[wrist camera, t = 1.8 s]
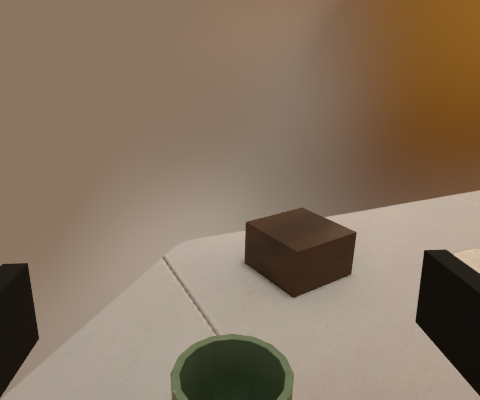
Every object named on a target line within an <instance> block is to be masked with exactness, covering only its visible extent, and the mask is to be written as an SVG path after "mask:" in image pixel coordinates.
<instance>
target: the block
mask: <svg viewBox="0 0 480 400" xmlns="http://www.w3.org/2000/svg"><path fill="white" fill-rule="evenodd" d="M355 240H356V232H355V231H352V230H350V229H348V228H346V227H344V226H341V225H339V224H337V223H335V222H333V221H331V220H328V219H326V218H324V217H322V216H319V215H317V214H315V213H313V212H311V211H308V210H306V209H304V208H299V209H295V210H291V211H287V212H283V213H280V214H276V215H272V216H268V217H264V218H260V219H256V220H252V221H249V222H246V237H245V263H246V264H248V265H249V266H250V267H252V268H253V269H255V270H256V271H257V272H259V273H260V274H262V275H263V276H264V277H266V278H267V279H269V280H270V281H272V282H273V283H274V284H276V285H277V286H279V287H280V288H281V289H283V290H284V291H286V292H287V293H288V294H290V295H291V296H293V297H296V296H298V295H301V294H303V293H306V292H308V291H310V290H313V289H315V288H318V287H320V286H323V285H325V284H328V283H330V282H333V281H335V280H337V279H340V278H342V277H345V276H347V275H350V274H351V271H352V263H353V256H354V248H355Z"/></svg>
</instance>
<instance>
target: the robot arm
mask: <svg viewBox="0 0 480 400" xmlns="http://www.w3.org/2000/svg"><path fill="white" fill-rule="evenodd" d="M416 323H417V324H418V325H419V326H420V327H421V329H422V330H423V331H424V332H425V333H426V334H427V336H428V337H429V338H430V339H431V340H432V341H433V342H434V344H435V345H436V346H437V347H438V348H439V349H440V351H441V352H442V353H443V354H444V355H445V356H446V357H447V359H448V360H449V361H450V362H451V363H452V364H453V366H454V367H455V368H456V369H457V370H458V371H459V372H460V374H461V375H462V376H463V377H464V378H465V379H466V381H467V382H468V383H469V384H470V385H471V386H472V387H473V389H474V390H475V391H476V392H477V393H478V394H479V396H480V273H478V272H477V271H476V270H474V269H473V268H471V267H470V266H468V265H467V264H466V263H464V262H463V261H461V260H460V259H459V258H457V257H456V256H454V255H453V254H451V253H450V252H449V251H447V250H424V258H423V266H422V274H421V282H420V290H419V298H418V306H417V314H416ZM38 339H39V336H38V329H37V322H36V316H35V309H34V302H33V297H32V289H31V283H30V276H29V269H28V264H27V263H24V264H23V263H21V264H2V265H1V266H0V397H1V396H2V394H3V392H4V391H5V390H6V388H7V387H8V385H9V383H10V381H11V380H12V379H13V377H14V376H15V374H16V373H17V371H18V370H19V368H20V367H21V365H22V364H23V362H24V361H25V359H26V357H27V356H28V355H29V353H30V351H31V350H32V348H33V347H34V345H35V344H36V342H37V341H38Z"/></svg>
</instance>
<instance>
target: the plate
mask: <svg viewBox="0 0 480 400" xmlns="http://www.w3.org/2000/svg"><path fill="white" fill-rule="evenodd" d="M453 255H454V256H456V257H457V258H459V259H460V260H461V261H463V262H464V263H466V264H467V265H468V266H470V267H471V268H473V269H474V270H476V271H477V272H478V273H480V249H469V250H465V251H461V252H457V253H454V254H453Z"/></svg>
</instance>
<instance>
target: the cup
mask: <svg viewBox="0 0 480 400" xmlns="http://www.w3.org/2000/svg"><path fill="white" fill-rule="evenodd" d="M293 380H294V374H293V371H292V369H291V367H290V365H289V363H288V361H287V358H286V357H285V356H284V355H283V354H282V353H280V352H279V351H278V350H277V349H276V348H275V347H274V346H273V345H271V344H269V343H266V342H264V341H262V340H259V339H257V338H255V337H251V336H243V335H236V334H228V335H220V336H212V337H209V338H207V339H204V340H202V341H200V342H197V343H195V344H193V345H191V346H190V347H189V348H188V349H187V350H186V351H185V352H183V353H182V354H181V355H180V356H179V357H178V359H177V361H176V363H175V365H174V368H173V370H172V372H171V395H172V400H292V392H293Z"/></svg>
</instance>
